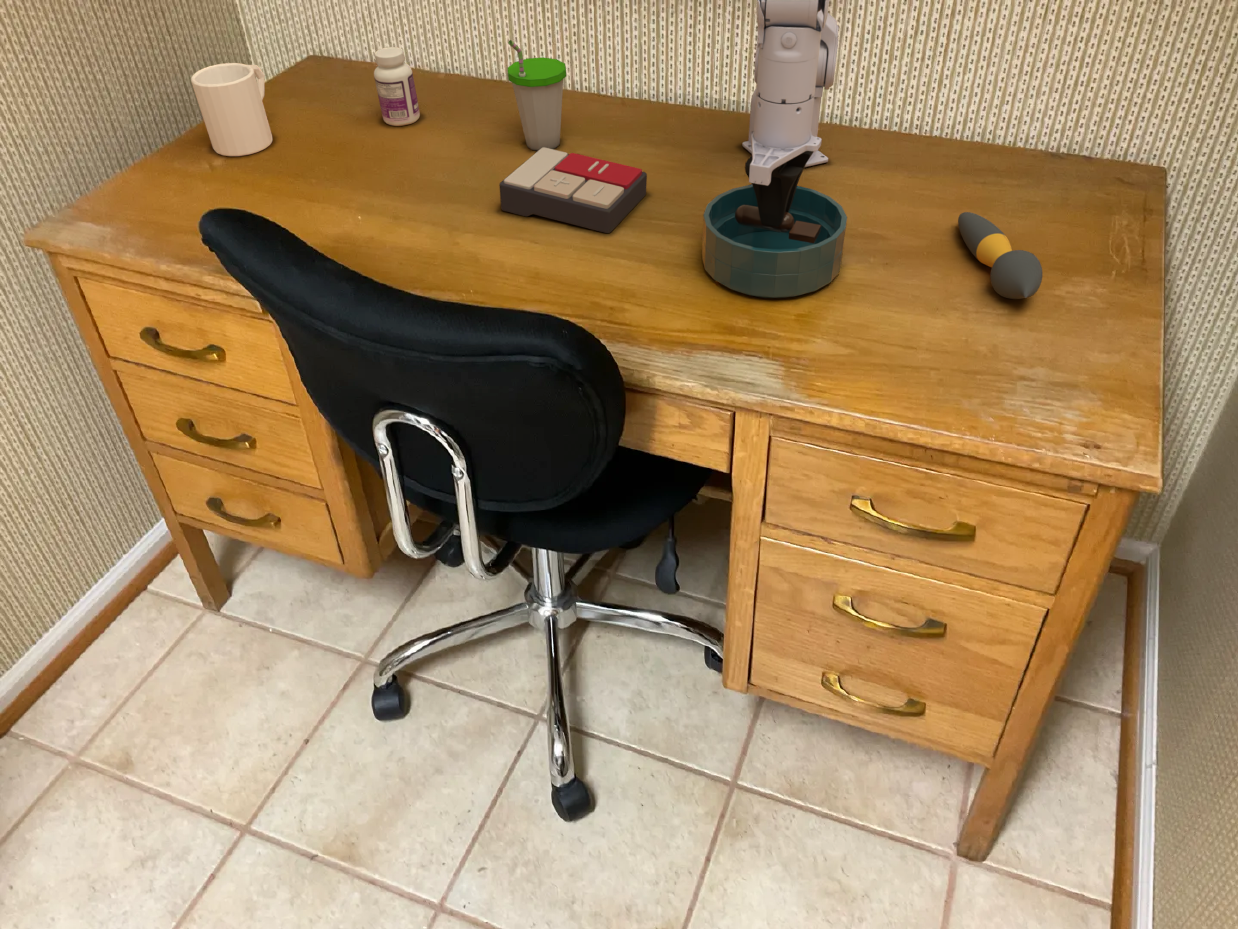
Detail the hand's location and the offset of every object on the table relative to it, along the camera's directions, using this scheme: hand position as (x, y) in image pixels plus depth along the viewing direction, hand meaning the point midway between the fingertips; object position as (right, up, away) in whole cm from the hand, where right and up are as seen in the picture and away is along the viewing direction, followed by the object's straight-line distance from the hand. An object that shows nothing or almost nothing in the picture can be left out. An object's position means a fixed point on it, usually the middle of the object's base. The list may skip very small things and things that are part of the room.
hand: (774, 218), depth 105 cm
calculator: (-22, +6, +16) cm, 28 cm away
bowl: (0, -4, +4) cm, 6 cm away
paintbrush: (+24, -5, +2) cm, 24 cm away
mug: (-69, +20, +33) cm, 79 cm away
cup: (-27, +17, +29) cm, 43 cm away
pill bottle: (-48, +23, +37) cm, 65 cm away
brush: (0, -1, +1) cm, 1 cm away
